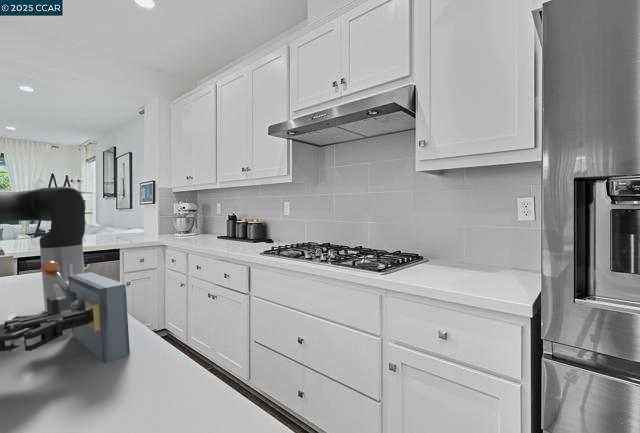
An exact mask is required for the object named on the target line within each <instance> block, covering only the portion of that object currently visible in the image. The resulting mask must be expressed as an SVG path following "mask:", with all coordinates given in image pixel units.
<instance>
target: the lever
mask: <svg viewBox="0 0 640 433" xmlns="http://www.w3.org/2000/svg"><path fill="white" fill-rule="evenodd" d="M40 266H41V265H40ZM59 268H60V267H59V264H58V263H57V262H54V261H48V262H45V263H44V264H43V265H42V266H41V267H40V271H41V274H42V273H43V274H45V275H48V276H51V277H52V278H53V280H54V281H55V282H56V284H57V285H58V286H59V288H60V289H61V290H62V292H63V293H64V294H65V296H66V297H67V298H68V300H69V301H70V302H69V306H70V307H72V308H73V309H75V310H80V309H81V308H83V306H84V302H83V301H82V300H80V299H78V298H77V297H76V296H75V294H74V293H73V292H72V290H71V289H70V288H69V286H68V285H67V283H66V282H65V281H64V279H63V278H62V277H61V275H60V274H59V272H58V271H59Z"/></svg>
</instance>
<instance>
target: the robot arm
mask: <svg viewBox="0 0 640 433" xmlns="http://www.w3.org/2000/svg"><path fill="white" fill-rule="evenodd" d="M85 205H86V204H85V200H84V197H83V195H82V194H81V192H80V191H79V190H78V189H76V188H74V187H71V186H56V187H54V186H53V187H44V188H37V189H31V190H22V191H21V190H20V191H10V192H9V191H8V192H6V191H0V225H3V224H7V223H11V222H23V221H24V222H27V221H28V222H29V221H33V222H35V221H36V222H38V221H40V222H43V221H44V222H51V223H50V229H49V230H48V232H47V233H45V234H43V235H42V236H40V238H39V250H40V263H41V265H40V266H42V265H43V264H44V263H45V262H48V261H54V262H57V263H58V264H59V267H60V268H59V271H58V272H59V274H60V275H61V277H62V278H63V279H64V281H69V277H68V276H70V265H71V264H72V266H73V275H76V274H82V273H86V272H85V260H84V259H85V258H84V249H83V248H84V246H83V237H84V236H85V233H86V206H85ZM41 276H42V289H43V303H44V312H45V313H42V314H31V315H21V316H18V315H17V316H15V317H12V318H10V319H8V320H5V321H4V323H2V324H0V353H1V352H10V353H11V352H15V351H19V350H22V349H24V350H25V352H30V351H33V350H35V349H38V348H40V347H41V346H44V345H45V344H48V343H49V342H51V341H54V340H56V339H58V338H59V337H62V336H63V335H64V333H65V330H70V329H72V328H74V327H78V326H82V325H86V324H89V323H90V322H91V313H90V312H89V311H88V310H82V311H78V312H74V313H69V314H65V315H62V316H61V313H59V314H56V315H54V313H48V310H47V297H52V296H53V297H55V298H57V296H56V291H55V290H53V289H54V287H53V285H55V284H56V282H55V281H54V280H53V278H52V277H51V276H48V275H45V274H43V273H42V272H41Z"/></svg>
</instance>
